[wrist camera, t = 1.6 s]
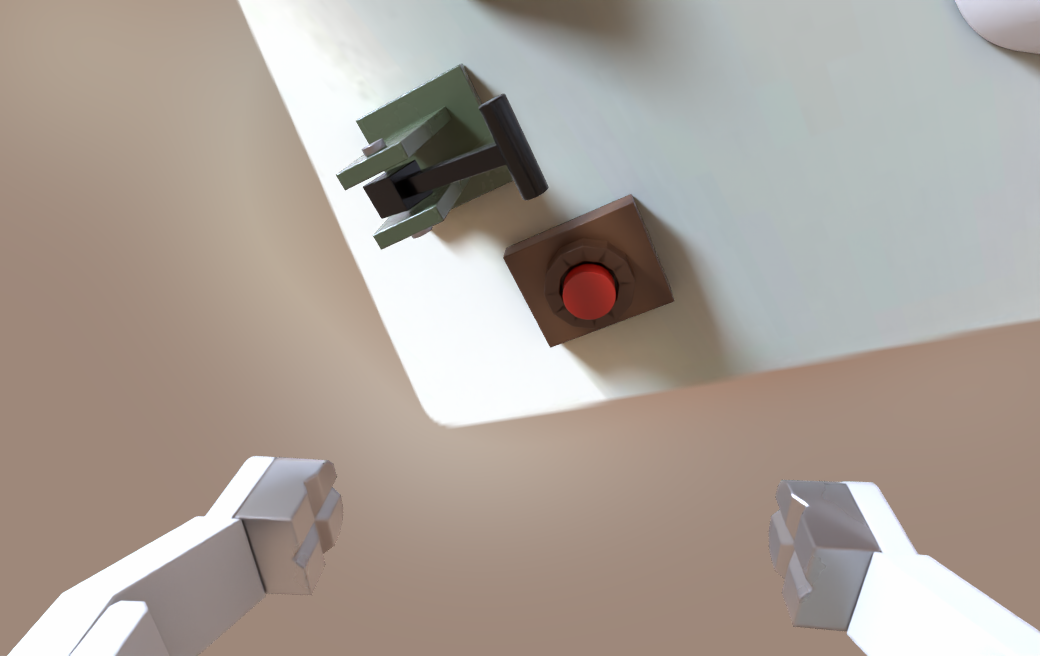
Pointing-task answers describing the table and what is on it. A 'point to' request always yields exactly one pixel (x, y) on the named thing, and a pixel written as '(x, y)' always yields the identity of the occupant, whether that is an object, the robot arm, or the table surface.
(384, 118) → the bracket
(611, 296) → the button
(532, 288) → the button block
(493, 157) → the lever
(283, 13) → the table surface
